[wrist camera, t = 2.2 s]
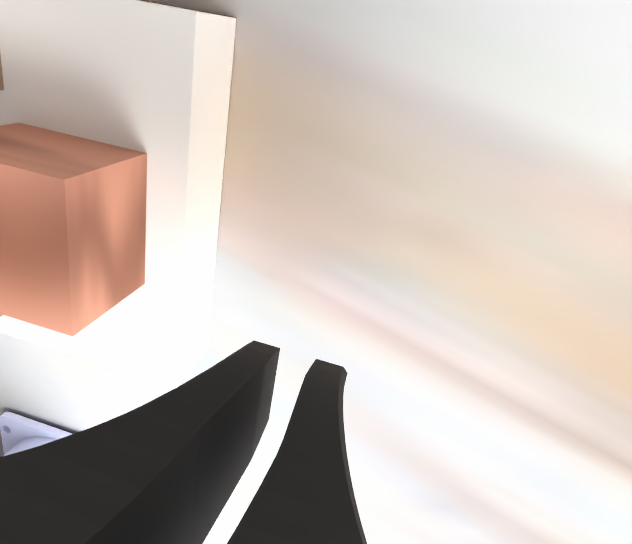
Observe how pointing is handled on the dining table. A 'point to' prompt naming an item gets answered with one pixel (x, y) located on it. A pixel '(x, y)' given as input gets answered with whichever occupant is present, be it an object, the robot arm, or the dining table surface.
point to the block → (68, 226)
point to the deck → (141, 135)
